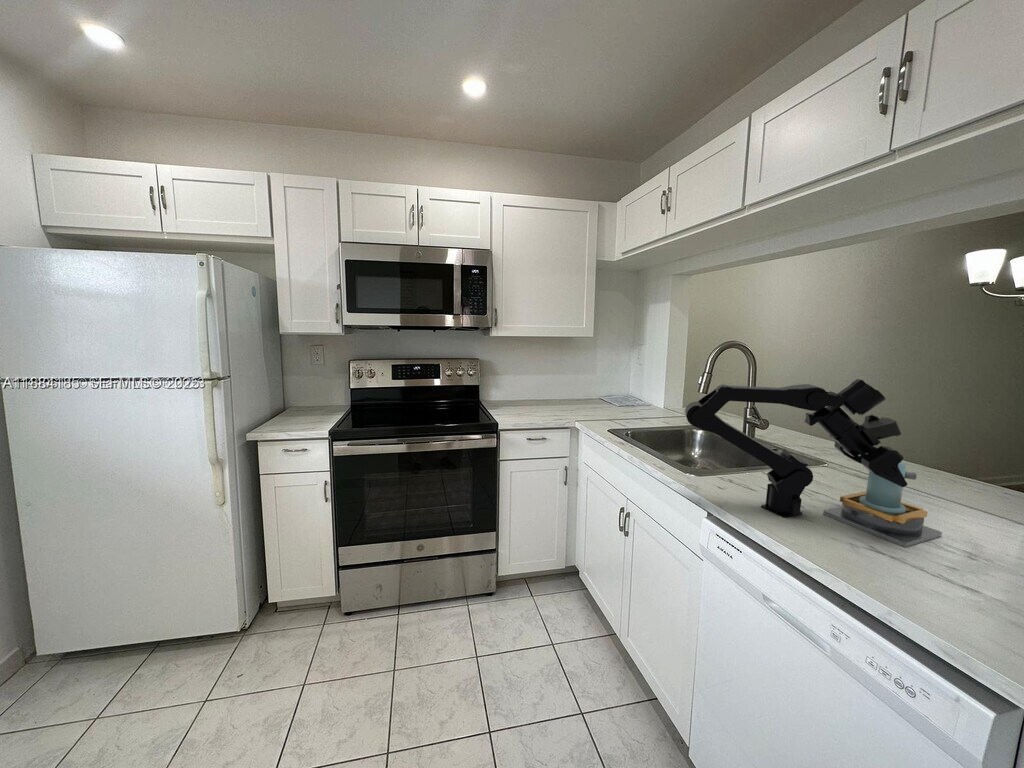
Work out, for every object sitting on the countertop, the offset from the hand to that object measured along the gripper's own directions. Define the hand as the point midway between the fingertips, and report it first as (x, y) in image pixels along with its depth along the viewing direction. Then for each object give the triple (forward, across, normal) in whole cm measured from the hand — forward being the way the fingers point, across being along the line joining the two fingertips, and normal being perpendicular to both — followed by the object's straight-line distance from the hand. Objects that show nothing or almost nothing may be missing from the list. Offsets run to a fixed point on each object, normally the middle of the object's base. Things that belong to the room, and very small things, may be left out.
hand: (893, 478), depth 91 cm
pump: (+4, 0, +6) cm, 8 cm away
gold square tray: (+7, 0, +9) cm, 12 cm away
